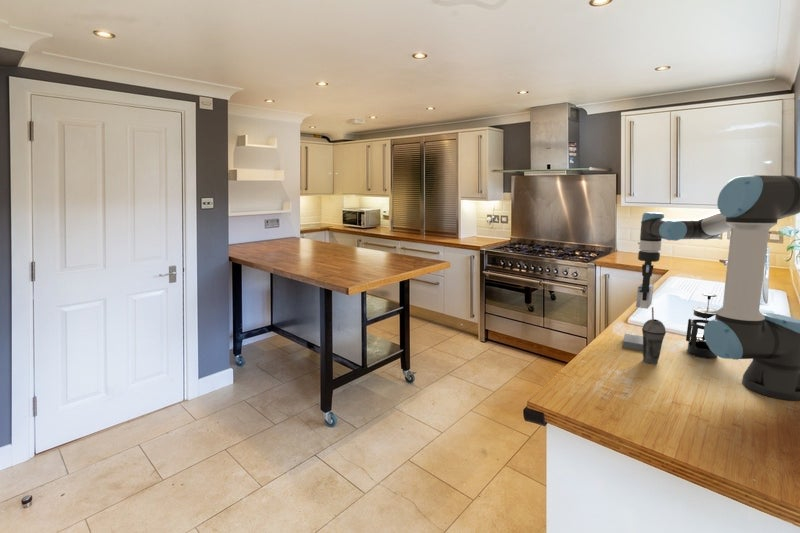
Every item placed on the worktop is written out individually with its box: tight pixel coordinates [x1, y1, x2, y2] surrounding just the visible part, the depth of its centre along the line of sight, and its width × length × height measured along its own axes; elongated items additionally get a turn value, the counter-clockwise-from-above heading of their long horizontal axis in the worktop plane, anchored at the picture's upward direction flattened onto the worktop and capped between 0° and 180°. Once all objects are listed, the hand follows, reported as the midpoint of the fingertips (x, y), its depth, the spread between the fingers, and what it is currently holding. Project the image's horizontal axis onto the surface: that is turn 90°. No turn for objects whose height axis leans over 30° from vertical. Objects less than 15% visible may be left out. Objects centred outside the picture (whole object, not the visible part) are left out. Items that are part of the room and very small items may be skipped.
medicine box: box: [635, 283, 654, 309], centre depth 177 cm, size 8×4×9 cm, turn 141°
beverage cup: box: [641, 307, 667, 365], centre depth 152 cm, size 7×7×20 cm
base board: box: [622, 333, 643, 352], centre depth 168 cm, size 10×11×3 cm
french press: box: [685, 292, 718, 360], centre depth 159 cm, size 12×9×23 cm
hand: (643, 305), depth 177 cm, fingers closed on medicine box, 8 cm apart
